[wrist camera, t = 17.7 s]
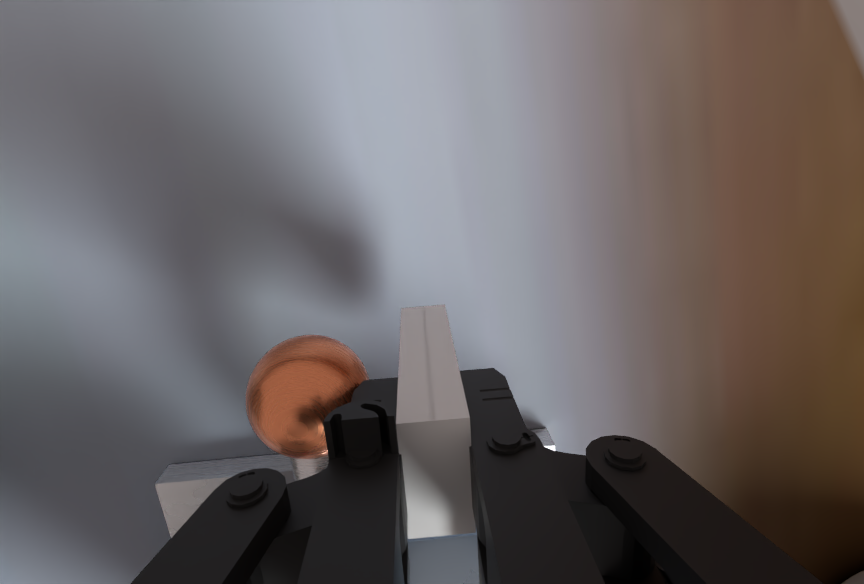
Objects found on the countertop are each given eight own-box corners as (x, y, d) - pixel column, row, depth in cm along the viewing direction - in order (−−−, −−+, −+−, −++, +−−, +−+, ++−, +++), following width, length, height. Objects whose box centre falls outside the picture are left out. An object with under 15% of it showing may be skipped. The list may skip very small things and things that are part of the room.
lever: (306, 577, 16) (284, 675, 13) (256, 322, 14) (213, 375, 11) (399, 567, 17) (397, 663, 14) (368, 313, 14) (357, 361, 11)
